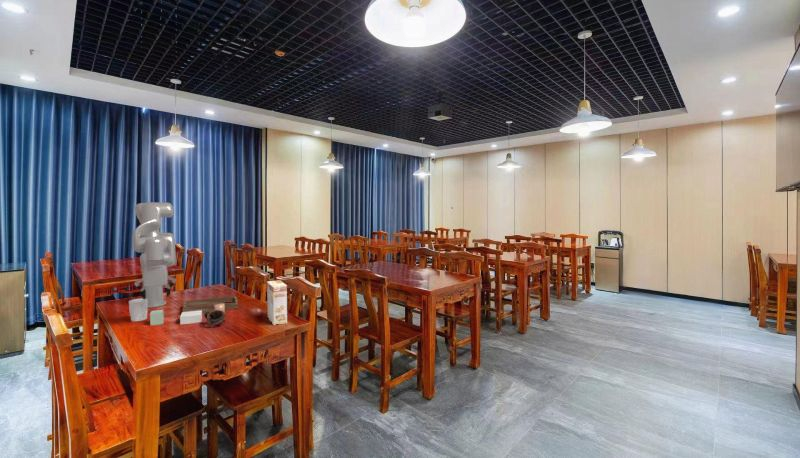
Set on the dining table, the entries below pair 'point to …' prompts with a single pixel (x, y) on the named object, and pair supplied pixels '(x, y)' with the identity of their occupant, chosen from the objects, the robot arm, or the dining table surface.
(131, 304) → the white cup
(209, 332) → the dining table surface
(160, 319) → the green block
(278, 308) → the coffeecake box
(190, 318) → the base slab
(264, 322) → the dining table surface
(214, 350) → the dining table surface
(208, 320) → the pottery mug
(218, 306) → the glossy beige egg
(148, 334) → the dining table surface
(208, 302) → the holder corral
